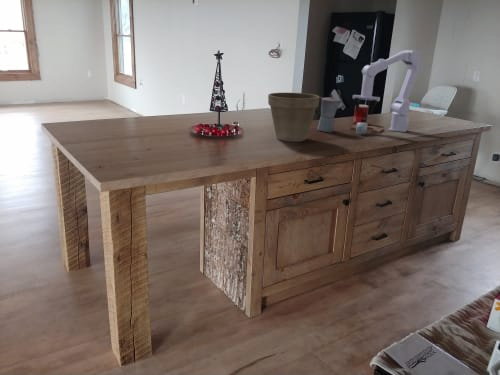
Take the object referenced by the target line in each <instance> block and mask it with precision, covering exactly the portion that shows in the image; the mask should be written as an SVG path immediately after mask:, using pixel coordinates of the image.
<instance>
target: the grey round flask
mask: <svg viewBox="0 0 500 375" xmlns="http://www.w3.org/2000/svg"><path fill="white" fill-rule="evenodd" d="M367 126H369V125H368V122H367V123H362V122H358V123H357V128H356V130H355V134H357V135H367V134H368V133H367V131H368V129H367Z"/></svg>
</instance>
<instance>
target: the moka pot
mask: <svg viewBox="0 0 500 375" xmlns="http://www.w3.org/2000/svg"><path fill="white" fill-rule="evenodd" d="M328 96H329V97H320V96H319V102H320V112H318V111H317V108H316V111H315V114H316V115H320V118H319V121H318V125H317V128H316V129H317V131H319V132H325V133H333V132H334V131H335V130H334V128H335V127H334V126H335V115H336V113H337V110H338V108H339V106H340V105H341V103H343V101H342V100H339V99H337V98H334V97H333V94H329V95H328Z"/></svg>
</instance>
